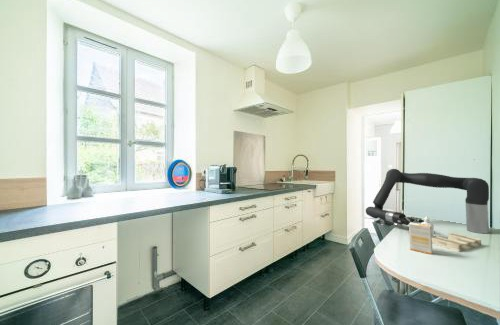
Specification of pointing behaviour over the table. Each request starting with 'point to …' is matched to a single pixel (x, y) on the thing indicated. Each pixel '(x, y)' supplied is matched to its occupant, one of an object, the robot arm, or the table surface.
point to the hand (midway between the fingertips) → (422, 223)
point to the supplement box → (420, 237)
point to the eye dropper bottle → (427, 221)
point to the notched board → (457, 242)
